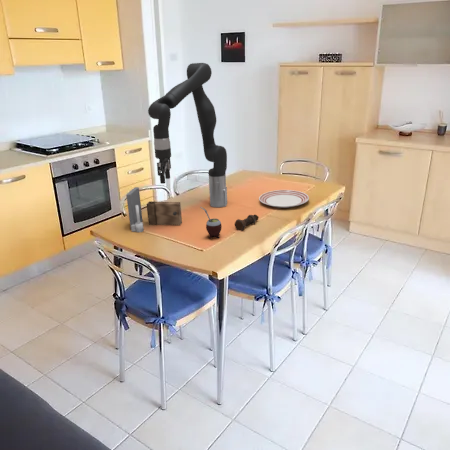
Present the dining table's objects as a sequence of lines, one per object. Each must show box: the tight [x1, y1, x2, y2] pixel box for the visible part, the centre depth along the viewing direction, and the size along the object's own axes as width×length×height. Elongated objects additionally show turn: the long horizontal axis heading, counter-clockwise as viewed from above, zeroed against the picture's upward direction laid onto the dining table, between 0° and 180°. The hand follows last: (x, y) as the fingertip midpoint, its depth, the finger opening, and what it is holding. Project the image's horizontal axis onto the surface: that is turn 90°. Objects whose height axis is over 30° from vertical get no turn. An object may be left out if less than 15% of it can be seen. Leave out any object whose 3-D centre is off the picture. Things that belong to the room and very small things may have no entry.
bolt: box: [234, 214, 259, 232], centre depth 208 cm, size 6×5×15 cm
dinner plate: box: [258, 189, 310, 209], centre depth 239 cm, size 28×27×3 cm
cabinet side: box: [125, 187, 144, 233], centre depth 210 cm, size 7×15×18 cm, turn 171°
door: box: [146, 201, 183, 226], centre depth 213 cm, size 16×5×11 cm, turn 81°
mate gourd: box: [199, 206, 222, 240], centre depth 195 cm, size 8×8×15 cm
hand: (165, 180), depth 207 cm, fingers open, 8 cm apart
